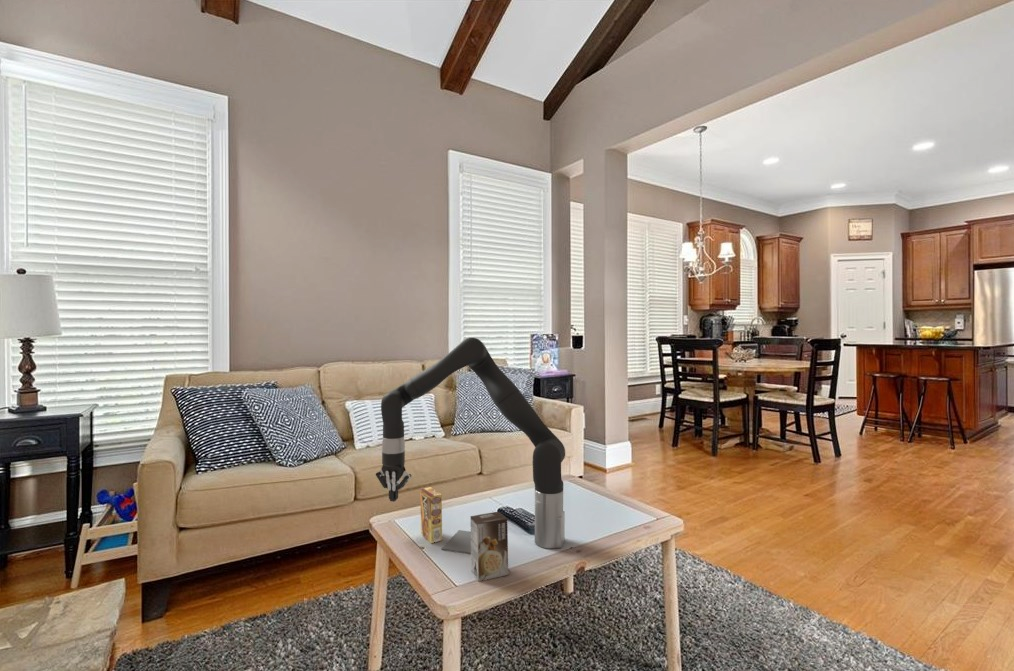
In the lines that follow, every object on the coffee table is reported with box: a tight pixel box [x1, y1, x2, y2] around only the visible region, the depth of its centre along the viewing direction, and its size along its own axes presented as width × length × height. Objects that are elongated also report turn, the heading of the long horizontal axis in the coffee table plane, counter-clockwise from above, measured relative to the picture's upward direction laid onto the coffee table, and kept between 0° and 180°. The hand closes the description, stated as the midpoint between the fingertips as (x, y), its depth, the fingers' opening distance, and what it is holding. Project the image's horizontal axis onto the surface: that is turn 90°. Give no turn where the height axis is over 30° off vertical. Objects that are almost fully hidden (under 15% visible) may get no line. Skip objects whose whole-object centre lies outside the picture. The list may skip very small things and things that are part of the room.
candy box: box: [419, 486, 443, 544], centre depth 158 cm, size 9×4×15 cm, turn 33°
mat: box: [440, 529, 471, 555], centre depth 154 cm, size 15×14×1 cm
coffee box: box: [470, 511, 509, 582], centre depth 135 cm, size 9×6×16 cm
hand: (393, 500), depth 162 cm, fingers closed
